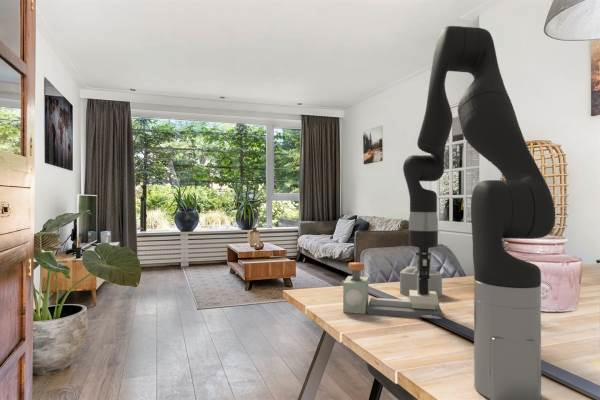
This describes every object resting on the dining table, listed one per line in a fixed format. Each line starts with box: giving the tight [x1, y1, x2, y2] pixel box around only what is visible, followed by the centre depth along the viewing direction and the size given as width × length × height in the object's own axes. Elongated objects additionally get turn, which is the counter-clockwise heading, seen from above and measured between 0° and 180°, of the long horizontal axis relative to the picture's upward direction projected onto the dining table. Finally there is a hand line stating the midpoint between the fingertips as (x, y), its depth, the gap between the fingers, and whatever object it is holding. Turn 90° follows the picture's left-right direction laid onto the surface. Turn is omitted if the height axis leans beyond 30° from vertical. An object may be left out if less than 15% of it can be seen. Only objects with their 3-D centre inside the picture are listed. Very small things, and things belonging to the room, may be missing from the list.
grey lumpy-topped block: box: [399, 265, 443, 298], centre depth 126 cm, size 10×13×9 cm
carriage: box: [408, 274, 439, 310], centre depth 103 cm, size 7×7×8 cm
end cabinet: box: [342, 275, 370, 315], centre depth 107 cm, size 10×6×8 cm, turn 165°
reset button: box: [348, 261, 365, 281], centre depth 107 cm, size 4×4×7 cm
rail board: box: [366, 297, 444, 319], centre depth 104 cm, size 10×19×3 cm, turn 75°
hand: (423, 292), depth 103 cm, fingers closed on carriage, 3 cm apart
